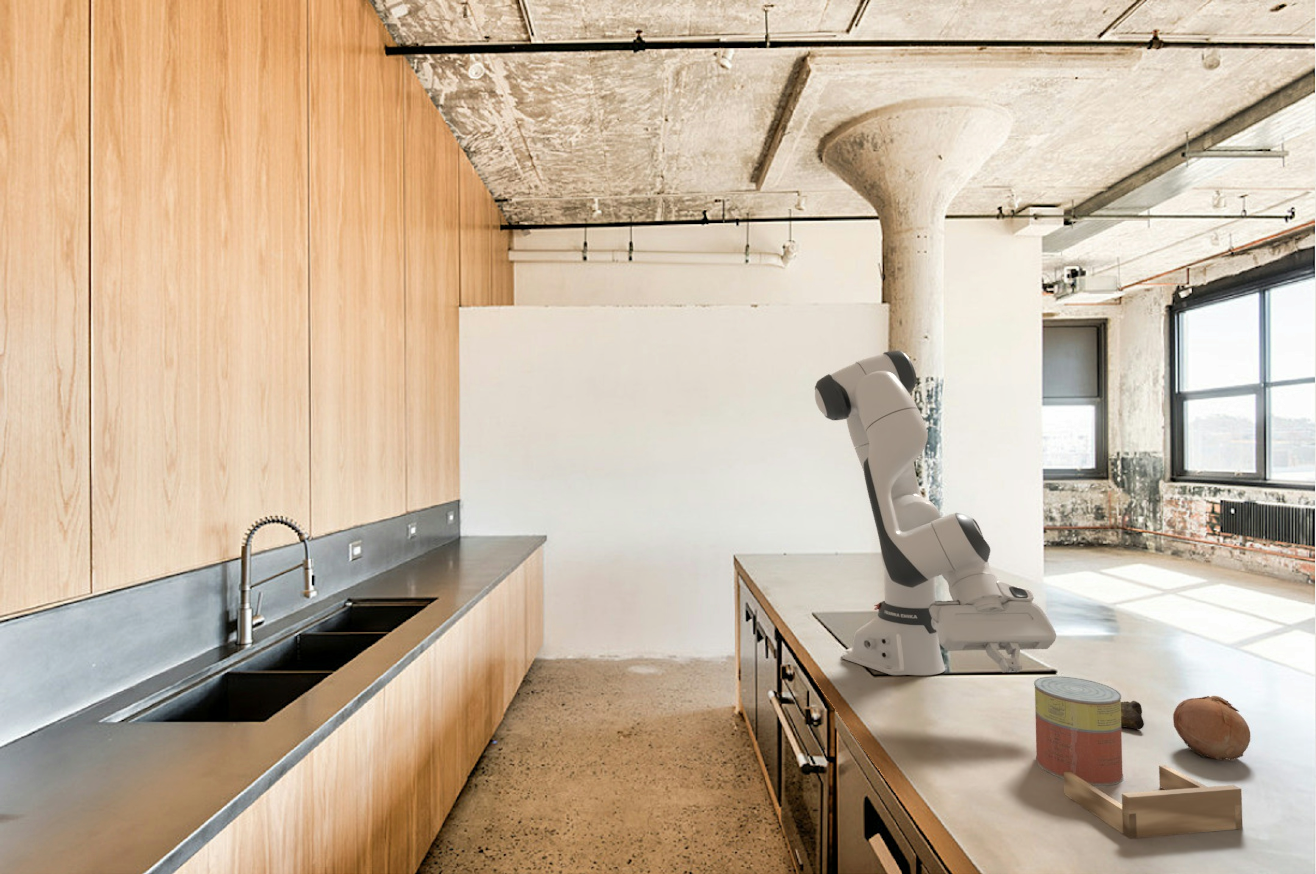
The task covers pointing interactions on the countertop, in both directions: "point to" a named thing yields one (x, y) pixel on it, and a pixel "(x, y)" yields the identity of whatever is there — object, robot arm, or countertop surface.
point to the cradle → (1163, 806)
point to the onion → (1212, 727)
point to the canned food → (1079, 729)
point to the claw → (1131, 715)
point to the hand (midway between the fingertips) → (1012, 670)
